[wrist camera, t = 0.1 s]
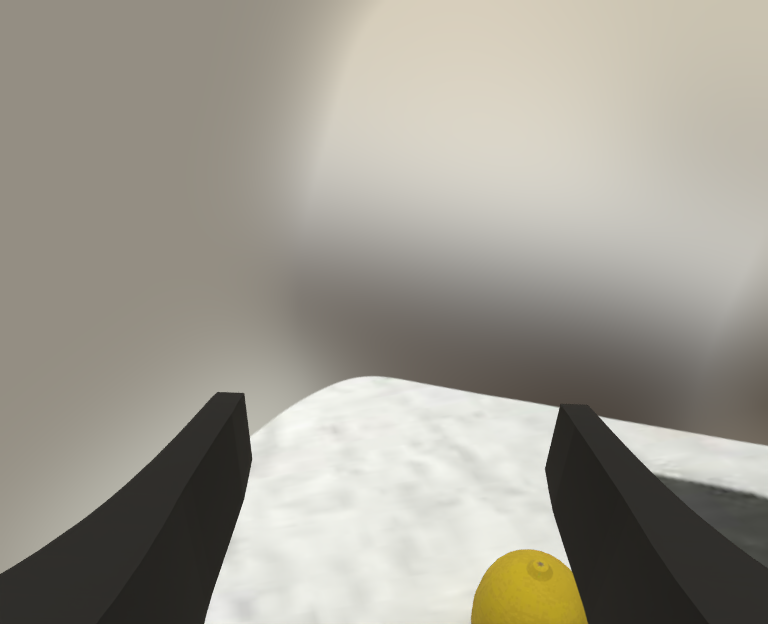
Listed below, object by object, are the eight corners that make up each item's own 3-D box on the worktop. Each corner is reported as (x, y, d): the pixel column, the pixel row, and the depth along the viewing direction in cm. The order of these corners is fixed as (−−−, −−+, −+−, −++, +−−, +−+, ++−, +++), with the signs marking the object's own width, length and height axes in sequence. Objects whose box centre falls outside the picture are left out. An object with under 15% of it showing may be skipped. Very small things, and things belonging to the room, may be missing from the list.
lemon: (578, 644, 31) (608, 539, 28) (565, 749, 27) (599, 640, 23) (479, 607, 33) (495, 504, 30) (451, 699, 29) (465, 591, 25)
